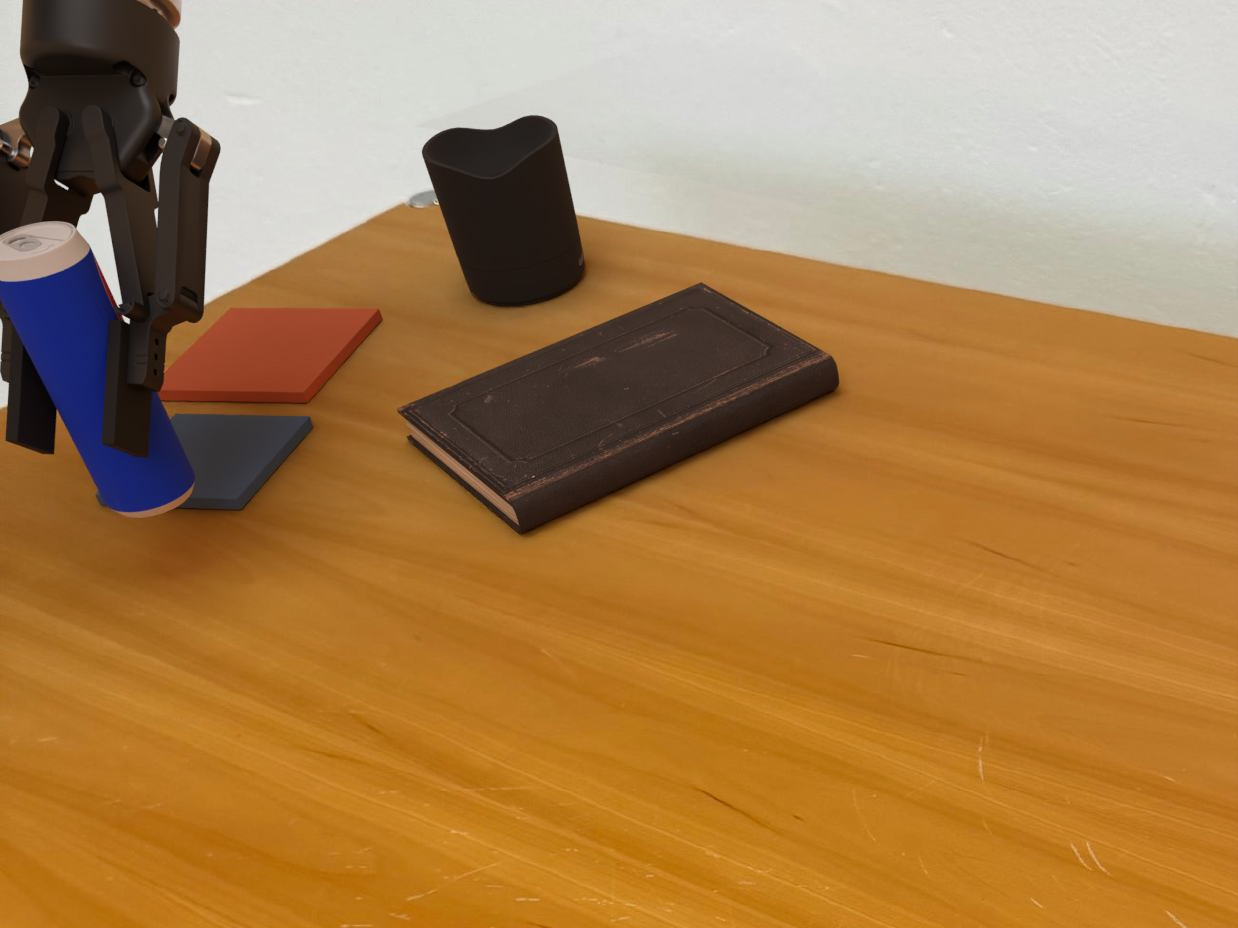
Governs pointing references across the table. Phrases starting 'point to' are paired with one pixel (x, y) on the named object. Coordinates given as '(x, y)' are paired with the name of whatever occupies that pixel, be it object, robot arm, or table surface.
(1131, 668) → the table surface
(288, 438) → the blue mat
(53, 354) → the beverage can
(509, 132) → the pen holder
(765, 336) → the hardcover book
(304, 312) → the terracotta mat
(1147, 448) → the table surface
